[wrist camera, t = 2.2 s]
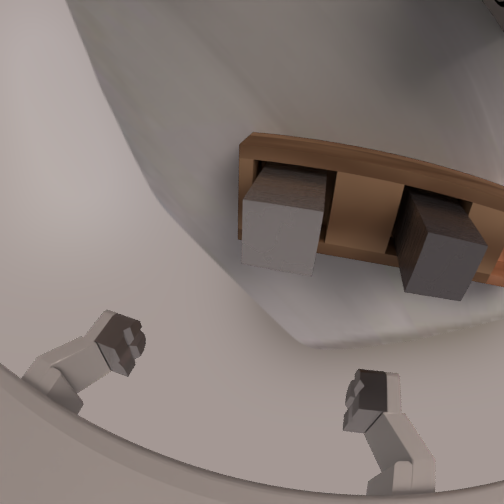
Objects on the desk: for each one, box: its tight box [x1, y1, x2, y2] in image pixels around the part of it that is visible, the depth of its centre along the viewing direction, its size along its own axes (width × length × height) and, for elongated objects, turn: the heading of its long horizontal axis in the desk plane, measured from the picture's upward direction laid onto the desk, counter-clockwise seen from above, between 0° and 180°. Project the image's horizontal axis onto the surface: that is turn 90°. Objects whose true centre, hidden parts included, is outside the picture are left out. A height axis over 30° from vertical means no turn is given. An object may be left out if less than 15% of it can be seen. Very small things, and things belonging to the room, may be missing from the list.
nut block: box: [241, 161, 327, 276], centre depth 19 cm, size 4×4×7 cm
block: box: [391, 185, 488, 301], centre depth 17 cm, size 4×4×7 cm
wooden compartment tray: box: [238, 132, 504, 287], centre depth 19 cm, size 7×26×4 cm, turn 88°
